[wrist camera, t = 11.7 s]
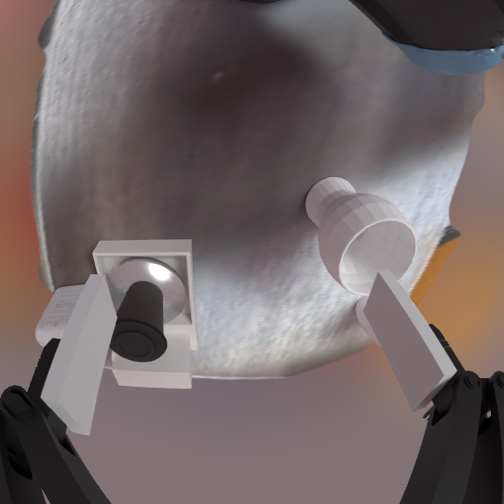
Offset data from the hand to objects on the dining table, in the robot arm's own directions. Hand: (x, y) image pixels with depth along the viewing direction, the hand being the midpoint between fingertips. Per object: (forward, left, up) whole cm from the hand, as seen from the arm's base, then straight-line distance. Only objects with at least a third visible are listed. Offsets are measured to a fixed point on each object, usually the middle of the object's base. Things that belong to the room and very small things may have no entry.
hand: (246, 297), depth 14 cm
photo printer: (+22, -24, -27) cm, 42 cm away
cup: (+6, +15, -27) cm, 31 cm away
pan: (+19, -11, -25) cm, 34 cm away
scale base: (+22, -11, -26) cm, 36 cm away
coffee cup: (+19, -11, -23) cm, 31 cm away
